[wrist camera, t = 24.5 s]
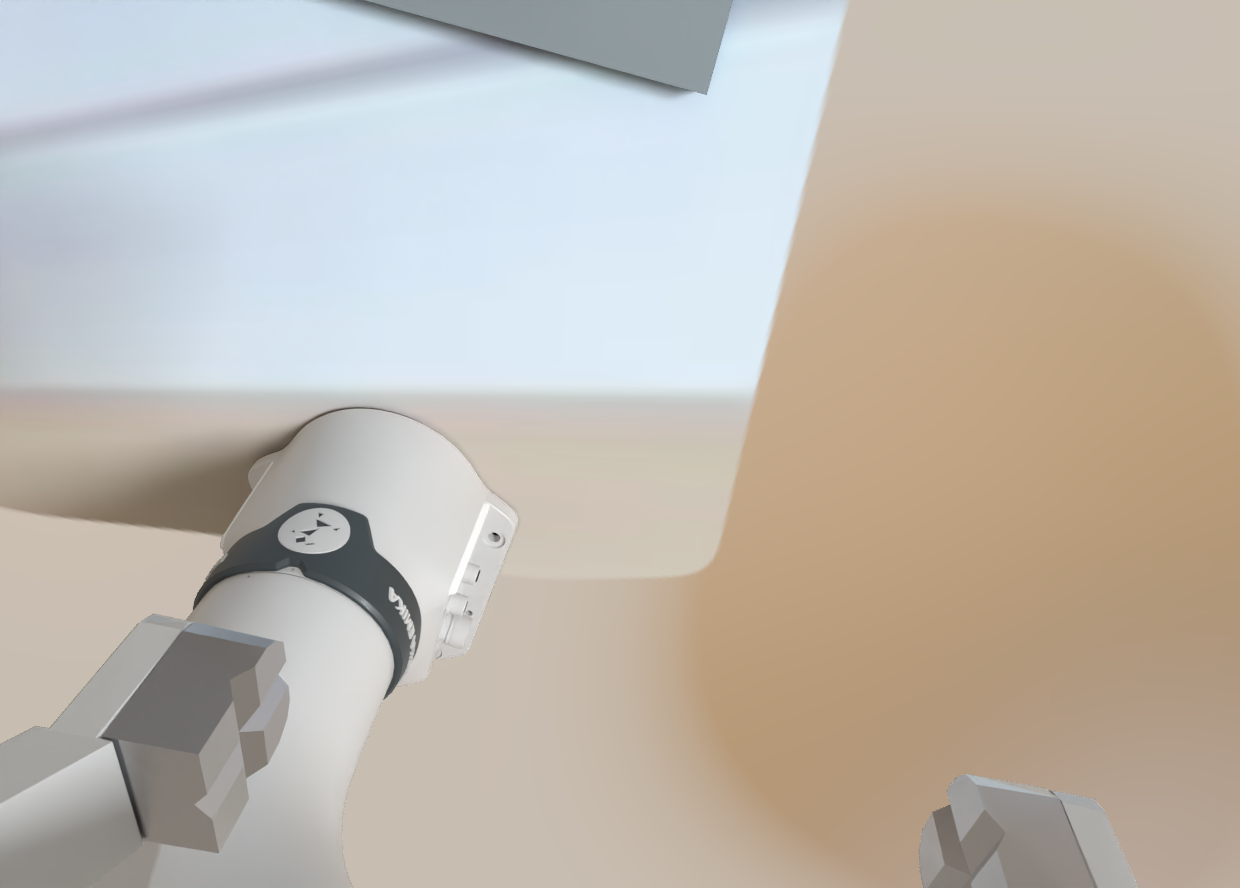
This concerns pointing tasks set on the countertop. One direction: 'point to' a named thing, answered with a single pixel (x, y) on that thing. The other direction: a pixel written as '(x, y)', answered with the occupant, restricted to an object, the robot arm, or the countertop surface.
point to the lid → (601, 31)
